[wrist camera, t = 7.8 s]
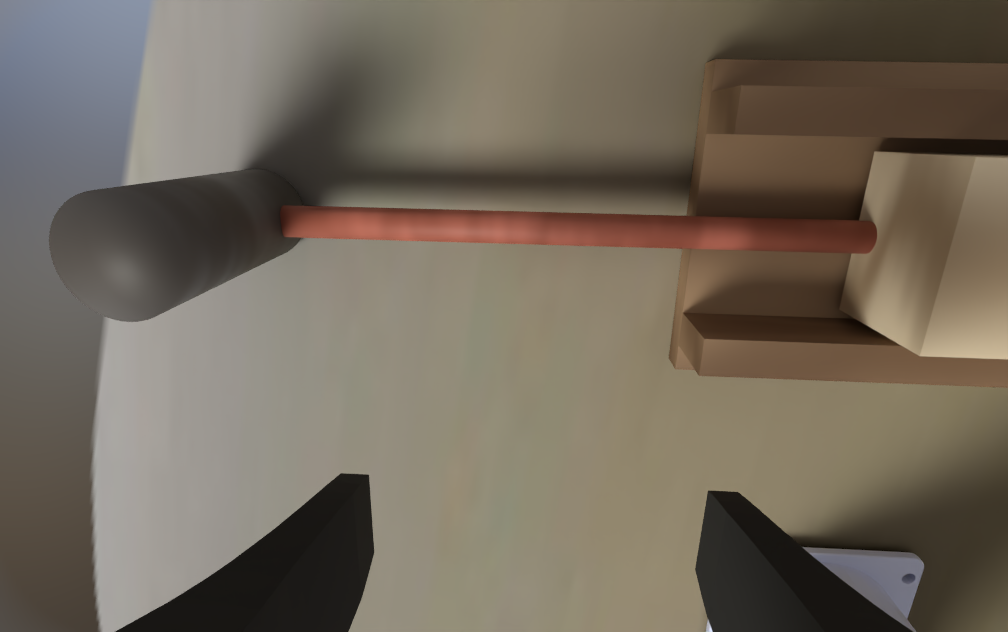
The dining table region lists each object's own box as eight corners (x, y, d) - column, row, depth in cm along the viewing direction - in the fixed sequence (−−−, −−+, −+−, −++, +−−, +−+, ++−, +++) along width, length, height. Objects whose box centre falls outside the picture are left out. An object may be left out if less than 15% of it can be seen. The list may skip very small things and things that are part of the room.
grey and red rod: (1007, 308, 19) (1268, 405, 12) (229, 282, 20) (76, 359, 13) (1057, 154, 17) (1391, 170, 10) (208, 136, 18) (22, 139, 12)
